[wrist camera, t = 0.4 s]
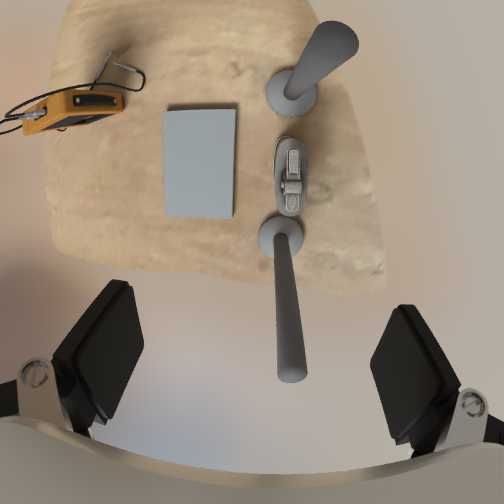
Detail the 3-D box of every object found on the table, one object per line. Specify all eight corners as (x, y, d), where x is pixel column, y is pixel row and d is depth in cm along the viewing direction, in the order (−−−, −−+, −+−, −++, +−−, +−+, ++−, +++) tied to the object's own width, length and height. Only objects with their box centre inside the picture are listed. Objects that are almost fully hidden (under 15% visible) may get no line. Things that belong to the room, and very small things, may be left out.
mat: (166, 111, 31) (163, 111, 30) (236, 109, 30) (235, 109, 29) (168, 213, 37) (166, 216, 36) (232, 216, 37) (232, 218, 36)
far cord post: (259, 214, 36) (249, 341, 16) (304, 217, 36) (347, 343, 16) (257, 255, 39) (246, 396, 18) (299, 257, 39) (325, 397, 18)
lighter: (298, 198, 35) (309, 225, 26) (272, 197, 35) (274, 225, 26) (300, 136, 31) (313, 140, 22) (272, 135, 32) (275, 139, 23)
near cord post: (267, 69, 28) (267, -20, 7) (316, 74, 28) (396, 5, 7) (264, 114, 30) (262, 94, 10) (314, 119, 30) (397, 115, 10)
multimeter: (143, 40, 26) (46, -4, 8) (149, 104, 30) (42, 102, 12) (61, 75, 27) (-40, 77, 9) (67, 133, 32) (-37, 161, 14)
